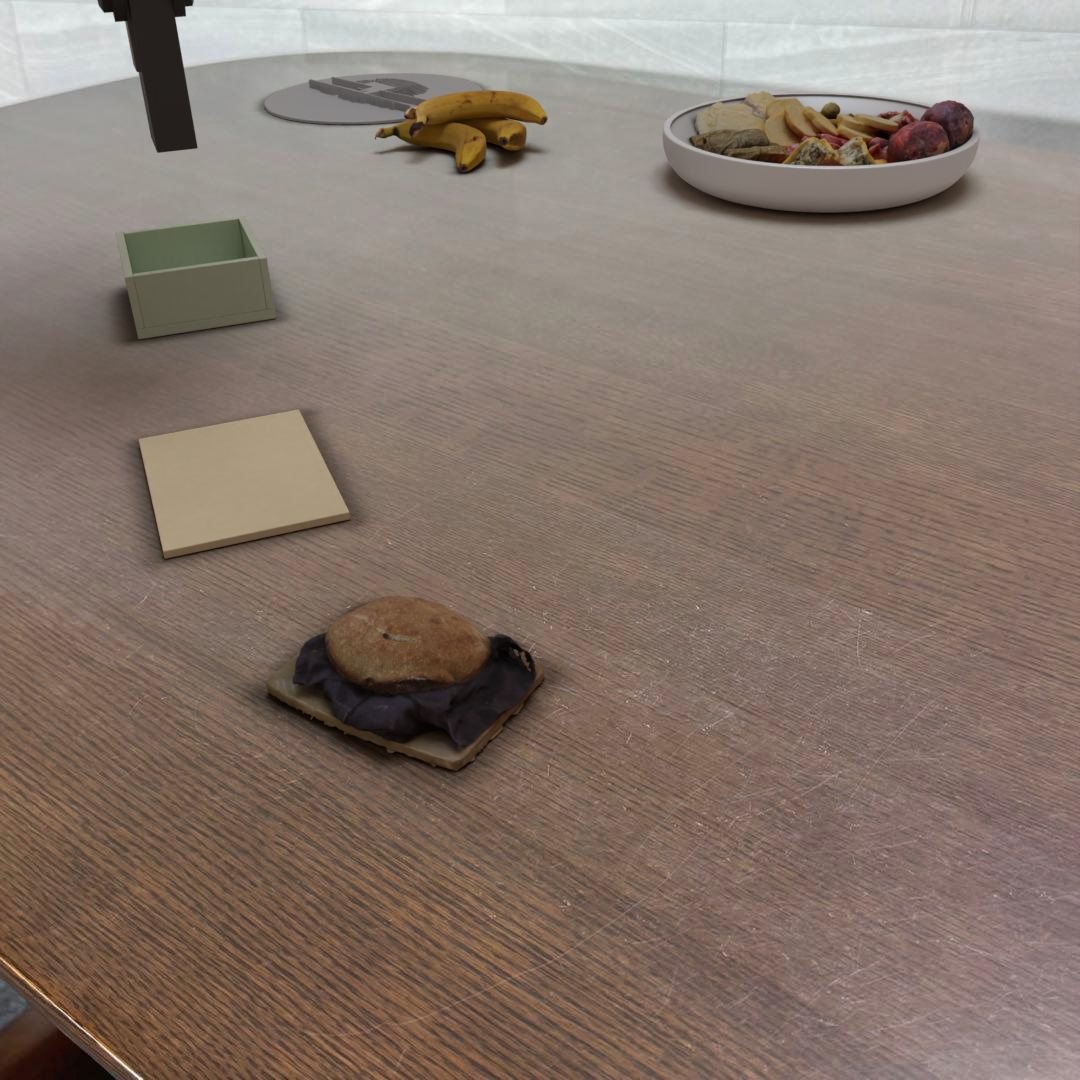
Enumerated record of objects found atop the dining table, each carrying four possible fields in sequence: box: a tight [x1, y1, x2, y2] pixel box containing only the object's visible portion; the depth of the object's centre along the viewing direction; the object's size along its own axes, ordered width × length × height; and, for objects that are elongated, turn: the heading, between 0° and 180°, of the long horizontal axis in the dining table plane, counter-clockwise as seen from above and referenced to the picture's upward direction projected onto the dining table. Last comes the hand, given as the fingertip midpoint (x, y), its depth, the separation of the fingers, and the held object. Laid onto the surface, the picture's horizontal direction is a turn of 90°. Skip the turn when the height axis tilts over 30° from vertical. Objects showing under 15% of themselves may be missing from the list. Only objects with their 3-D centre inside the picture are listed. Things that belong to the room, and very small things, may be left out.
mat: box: [138, 409, 351, 560], centre depth 70 cm, size 14×10×1 cm
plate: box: [264, 72, 484, 125], centre depth 155 cm, size 28×28×1 cm
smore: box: [265, 595, 546, 771], centre depth 53 cm, size 11×8×4 cm
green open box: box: [115, 215, 277, 340], centre depth 93 cm, size 10×11×5 cm
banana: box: [374, 89, 548, 173], centre depth 129 cm, size 15×19×6 cm
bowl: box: [662, 90, 981, 214], centre depth 117 cm, size 30×30×8 cm
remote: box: [124, 0, 199, 154], centre depth 71 cm, size 3×4×12 cm, turn 21°
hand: (150, 8), depth 68 cm, fingers closed on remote, 2 cm apart
